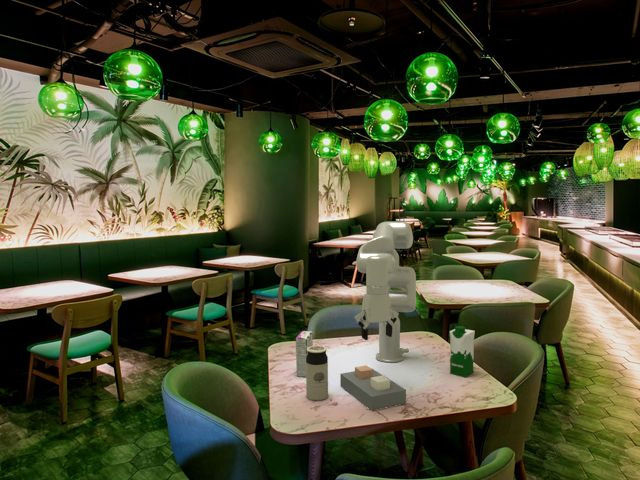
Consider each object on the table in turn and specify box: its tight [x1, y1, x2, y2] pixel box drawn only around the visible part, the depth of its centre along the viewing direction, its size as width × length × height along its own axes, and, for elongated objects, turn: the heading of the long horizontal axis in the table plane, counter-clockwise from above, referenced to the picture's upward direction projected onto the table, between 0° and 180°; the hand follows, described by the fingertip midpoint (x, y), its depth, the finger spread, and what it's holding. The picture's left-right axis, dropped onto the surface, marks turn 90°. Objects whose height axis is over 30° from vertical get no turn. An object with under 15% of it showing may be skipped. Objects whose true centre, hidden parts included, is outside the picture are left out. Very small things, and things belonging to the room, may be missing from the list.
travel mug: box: [305, 345, 329, 401], centre depth 166 cm, size 8×8×18 cm
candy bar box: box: [295, 330, 314, 378], centre depth 191 cm, size 11×5×16 cm, turn 168°
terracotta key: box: [354, 364, 374, 380], centre depth 173 cm, size 5×5×5 cm
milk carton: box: [449, 325, 476, 378], centre depth 187 cm, size 9×9×20 cm
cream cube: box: [371, 375, 391, 391], centre depth 162 cm, size 5×5×5 cm
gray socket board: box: [339, 367, 407, 411], centre depth 167 cm, size 14×24×5 cm, turn 24°
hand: (377, 337), depth 161 cm, fingers open, 9 cm apart
